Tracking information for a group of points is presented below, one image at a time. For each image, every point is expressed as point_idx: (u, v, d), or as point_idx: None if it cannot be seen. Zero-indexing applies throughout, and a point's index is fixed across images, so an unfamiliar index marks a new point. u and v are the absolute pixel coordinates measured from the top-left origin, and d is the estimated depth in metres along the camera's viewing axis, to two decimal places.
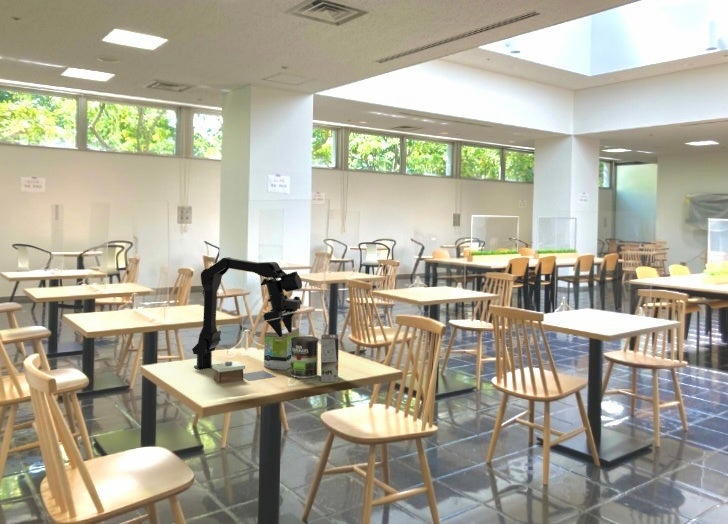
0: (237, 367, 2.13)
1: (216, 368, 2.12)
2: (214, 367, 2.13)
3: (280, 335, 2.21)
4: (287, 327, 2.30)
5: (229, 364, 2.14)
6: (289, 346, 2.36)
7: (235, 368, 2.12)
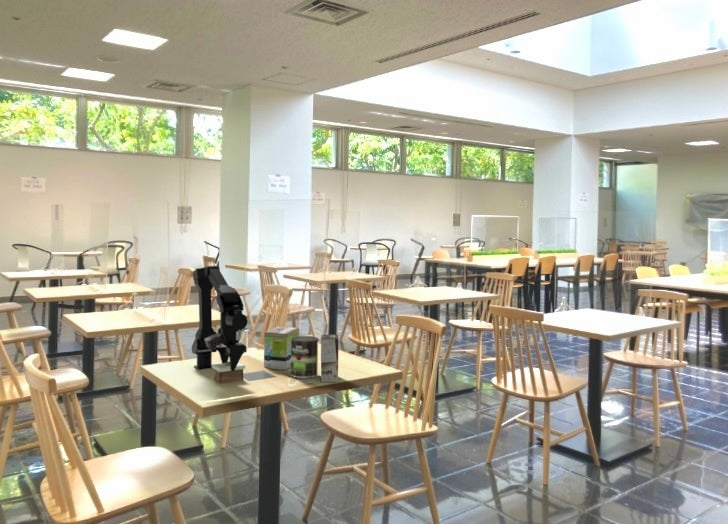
0: (237, 367, 2.13)
1: (216, 368, 2.12)
2: (214, 367, 2.13)
3: None
4: None
5: (229, 364, 2.14)
6: (289, 346, 2.36)
7: (235, 368, 2.12)
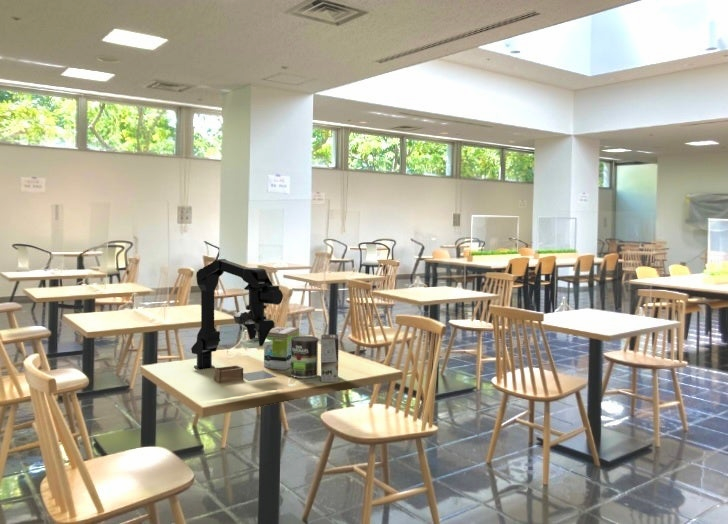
0: (265, 343, 2.19)
1: (245, 343, 2.17)
2: (242, 343, 2.19)
3: None
4: None
5: (257, 340, 2.20)
6: (289, 346, 2.36)
7: None
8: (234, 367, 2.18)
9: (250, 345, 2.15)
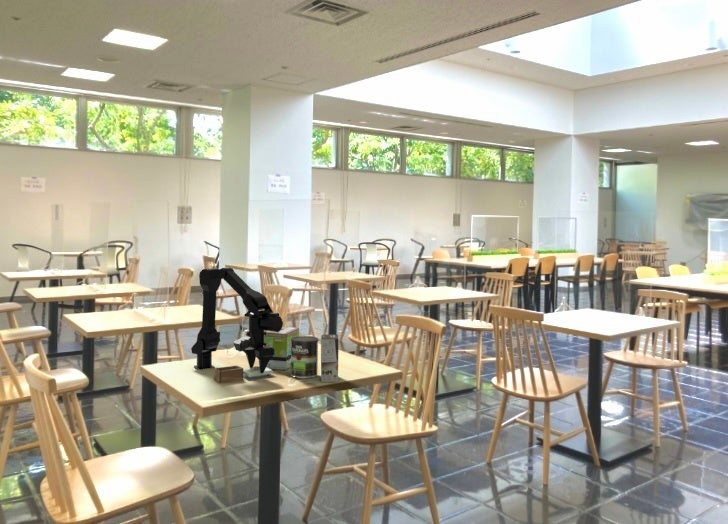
0: (265, 372, 2.19)
1: (245, 373, 2.18)
2: (243, 372, 2.20)
3: None
4: None
5: (257, 369, 2.20)
6: (289, 346, 2.36)
7: (263, 373, 2.19)
8: (234, 367, 2.18)
9: (250, 375, 2.16)
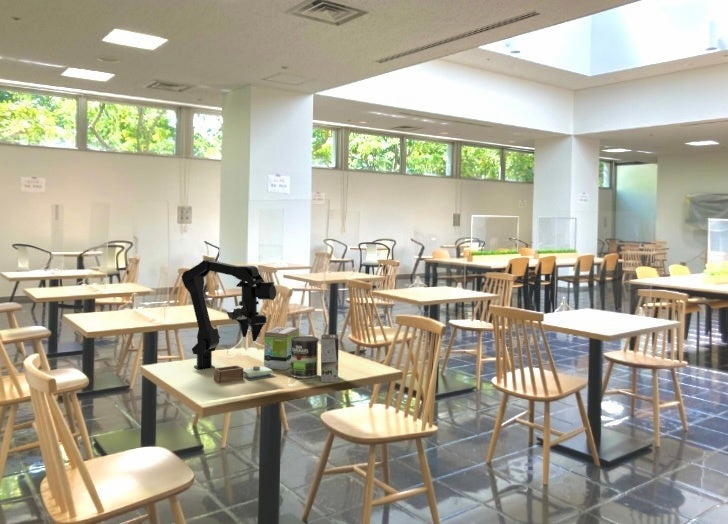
0: (265, 372, 2.19)
1: (245, 373, 2.18)
2: (243, 372, 2.20)
3: None
4: None
5: (257, 369, 2.20)
6: (289, 346, 2.36)
7: (263, 373, 2.19)
8: (234, 367, 2.18)
9: (250, 375, 2.16)
